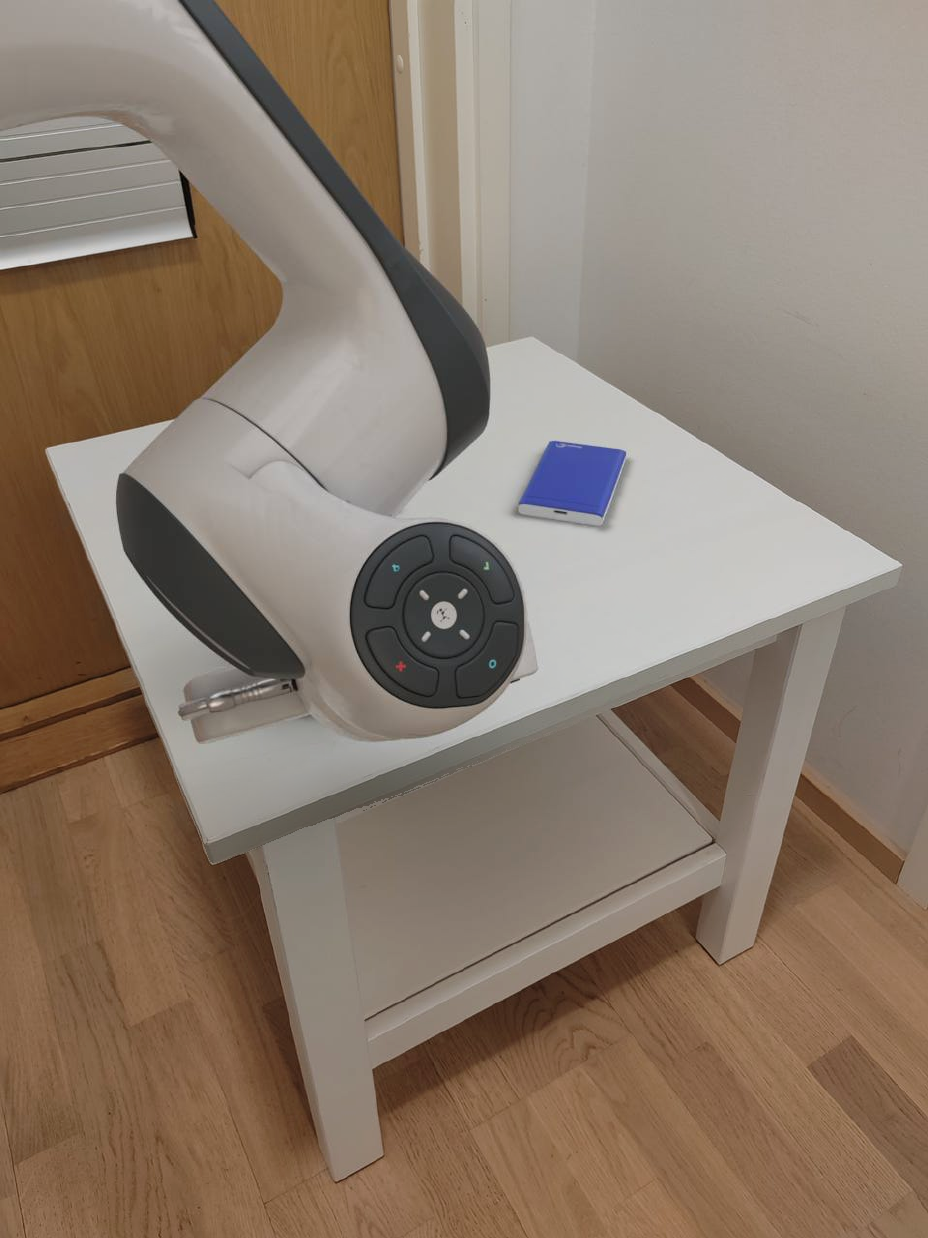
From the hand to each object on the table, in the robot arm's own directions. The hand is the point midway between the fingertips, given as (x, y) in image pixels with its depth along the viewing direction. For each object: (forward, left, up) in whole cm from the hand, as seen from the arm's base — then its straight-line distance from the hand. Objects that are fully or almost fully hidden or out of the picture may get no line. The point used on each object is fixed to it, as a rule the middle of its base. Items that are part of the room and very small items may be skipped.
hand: (344, 677), depth 63 cm
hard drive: (+9, +39, -8) cm, 41 cm away
